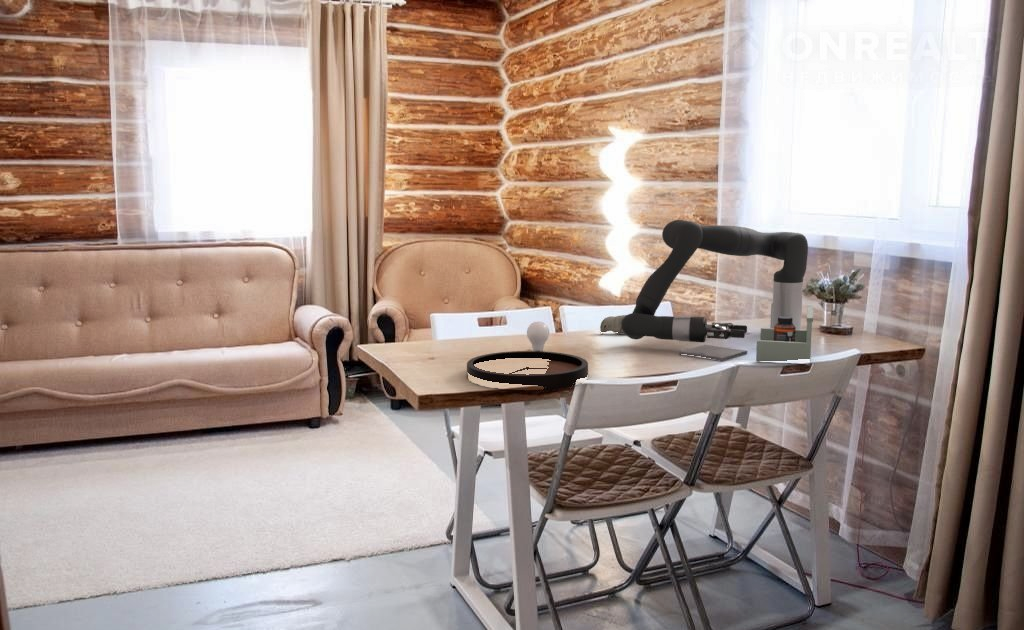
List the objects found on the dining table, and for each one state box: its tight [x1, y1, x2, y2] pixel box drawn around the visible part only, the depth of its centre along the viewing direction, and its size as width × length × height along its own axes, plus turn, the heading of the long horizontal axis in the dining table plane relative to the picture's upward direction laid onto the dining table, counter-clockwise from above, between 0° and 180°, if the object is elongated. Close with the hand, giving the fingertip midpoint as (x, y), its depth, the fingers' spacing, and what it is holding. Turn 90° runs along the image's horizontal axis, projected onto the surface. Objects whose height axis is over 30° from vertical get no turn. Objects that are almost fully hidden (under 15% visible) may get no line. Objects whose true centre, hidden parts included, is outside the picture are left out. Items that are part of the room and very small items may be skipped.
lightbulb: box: [526, 321, 550, 351], centre depth 242 cm, size 6×6×11 cm
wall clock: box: [466, 350, 589, 391], centre depth 222 cm, size 31×4×31 cm
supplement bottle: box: [773, 316, 796, 342], centre depth 246 cm, size 6×6×11 cm
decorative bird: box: [599, 314, 627, 333], centre depth 283 cm, size 5×16×7 cm, turn 89°
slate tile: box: [679, 344, 748, 362], centre depth 249 cm, size 14×14×1 cm
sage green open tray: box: [755, 306, 814, 366], centre depth 245 cm, size 14×22×13 cm, turn 161°
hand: (745, 331), depth 249 cm, fingers open, 8 cm apart
